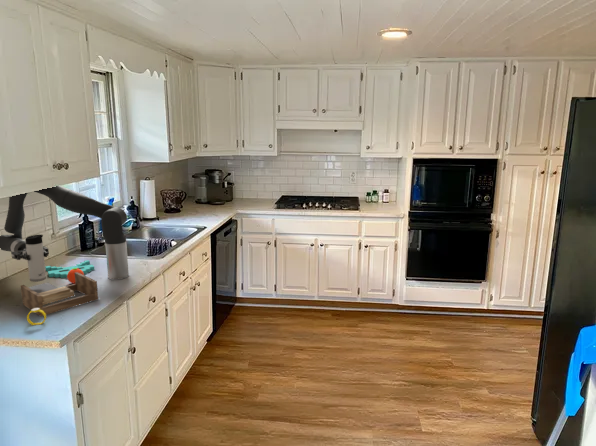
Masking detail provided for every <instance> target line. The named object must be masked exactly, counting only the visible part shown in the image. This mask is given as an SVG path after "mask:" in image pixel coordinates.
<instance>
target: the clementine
mask: <svg viewBox="0 0 596 446" xmlns="http://www.w3.org/2000/svg"><path fill="white" fill-rule="evenodd" d="M76 272H78V273H80V274H82V275H84V276H85V274H84V273H83V271H82V270H80V269H78V268H73V269H72V270H70V271H69V272H68V275H67V277H66V279H67V278H68V279H67V280H68V282H70V284H76V283H75V273H76Z"/></svg>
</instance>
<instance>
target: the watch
mask: <svg viewBox="0 0 596 446" xmlns="http://www.w3.org/2000/svg"><path fill="white" fill-rule="evenodd" d="M35 312H41V313H42V314H43V315H44V316H43V321H42V322H41V321H40V322H33V321H31V319H30V314H31V313H35ZM46 320H47V315H46V313H45V312H44V311H43V310H40V308H34V309H32V310H30V311H29V312H28V314H27V315H26V321H27V322H28V324H30V326H36V325H37V326H39V325H43V324H44V323H45V321H46Z"/></svg>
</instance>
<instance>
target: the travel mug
mask: <svg viewBox="0 0 596 446" xmlns="http://www.w3.org/2000/svg"><path fill="white" fill-rule="evenodd" d="M43 236H44V235H43V234H34V235H29V236H27V237H25V241H26V250H27V254H28V255H29V256H30V260H29V261H28V260H27V268H28V277H29V281H30V282H32V283H33V282H34V283H35V282H36V283H37V282H42V281H44V280H46V279H47V273H46V272H47V271H46V268H45V267H46V262H45V257H44V251H43V246H44V244H43V243H44V242H43Z"/></svg>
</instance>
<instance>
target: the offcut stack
mask: <svg viewBox="0 0 596 446" xmlns="http://www.w3.org/2000/svg"><path fill="white" fill-rule="evenodd" d="M38 294H40V295H41V296H42V303H43V306H46V305H49V304H52V303H56V302H59V301H62V300H65V298H66V299H68V297H69V298H72V297H71V296H73V297H75V296H76V295H75V291H73V290H70V288H67V287H65V285H64V286H61V287H57V289H53V290H50V291H46V292H42V293H38ZM74 295H75V296H74ZM58 300H59V301H58ZM55 301H56V302H55ZM51 302H52V303H51ZM48 303H49V304H48Z"/></svg>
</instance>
